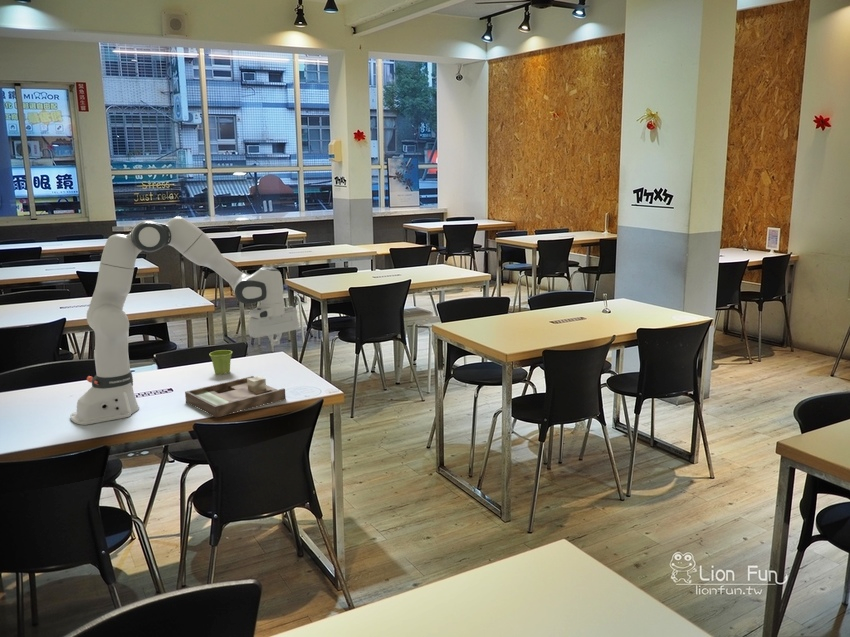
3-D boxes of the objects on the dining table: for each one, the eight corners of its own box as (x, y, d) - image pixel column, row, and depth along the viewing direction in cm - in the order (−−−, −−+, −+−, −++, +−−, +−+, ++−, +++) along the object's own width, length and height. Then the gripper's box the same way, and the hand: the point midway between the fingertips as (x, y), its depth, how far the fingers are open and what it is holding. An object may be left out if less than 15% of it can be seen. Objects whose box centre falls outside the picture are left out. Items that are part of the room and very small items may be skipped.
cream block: (254, 391, 272) (253, 381, 271) (247, 388, 275) (247, 378, 275) (266, 388, 275) (265, 378, 274) (259, 386, 279) (258, 376, 278)
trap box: (216, 417, 252) (215, 406, 251) (186, 402, 269) (185, 391, 269) (285, 399, 270) (284, 388, 270) (253, 385, 288) (252, 375, 287)
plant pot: (230, 375, 302) (228, 355, 300) (207, 376, 302) (206, 355, 300) (236, 369, 311) (235, 349, 309) (214, 369, 311) (213, 350, 309)
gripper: (291, 304, 284) (294, 338, 287) (244, 312, 271) (247, 348, 274) (300, 306, 279) (303, 341, 282) (253, 315, 266) (256, 351, 269)
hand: (275, 344), depth 278 cm, fingers closed
